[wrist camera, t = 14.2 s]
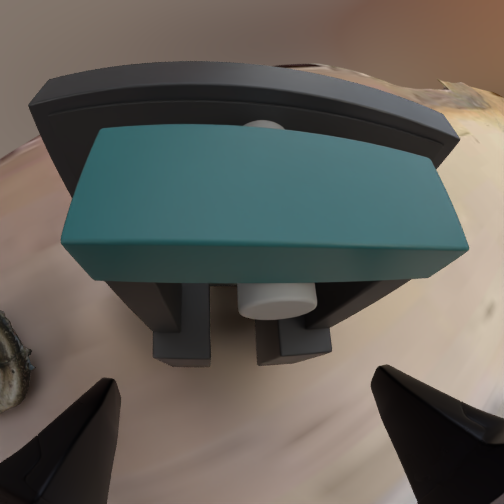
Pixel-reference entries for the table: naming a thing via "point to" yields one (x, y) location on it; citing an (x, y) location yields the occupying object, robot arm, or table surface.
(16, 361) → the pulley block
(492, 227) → the table surface
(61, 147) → the dark panel
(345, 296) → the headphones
